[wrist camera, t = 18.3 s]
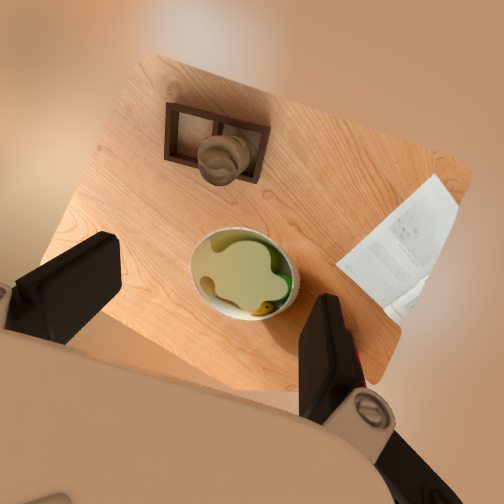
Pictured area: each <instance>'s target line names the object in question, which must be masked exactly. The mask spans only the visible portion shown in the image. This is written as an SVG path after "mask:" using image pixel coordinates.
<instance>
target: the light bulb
mask: <svg viewBox="0 0 504 504" xmlns="http://www.w3.org/2000/svg"><path fill="white" fill-rule="evenodd" d="M251 156H252V154H251V149H250V146H249V144H248V143H247V142H246V141H245V140H244V139H243V138H241V137H239V136H235V135H229V136H211V137H208V138H206V139H205V140H203V141H202V142H201V143H200V145H199V147H198V150H197V158H198V167H199V170H200V173H201V175H202V177H203V178H204V179H205V180H206V181H207V182H209V183H210V184H213V185H215V186H225V185H228V184H230V183H231V182H232V181H233V180H235V179H236V178H237V177H238V176H239V175H240V173H242V172H243V171H244V170H245V169H246V168H247V167H248V165H249V164H250V161H251Z"/></svg>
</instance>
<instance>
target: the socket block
mask: <svg viewBox="0 0 504 504" xmlns="http://www.w3.org/2000/svg"><path fill="white" fill-rule="evenodd" d="M179 112H182V113H186V114H190V115H194V116H197V117H201V118H205V119H209V120H213V121H214V125H213V132H212V136H222V133H223V126H224V124H228V125H232V126H236V127H240V128H244V129H247V130H251V131H255V132H259V133H262V138H261V142H260V147H259V151H258V156H257V161H256V165H255V170H254V174H252V173H248V172H245V171H243V172H242V173H240V175H239V176H238V177H237V178H236V179H239V180H243V181H247V182H250V183H254V184H257V182H258V180H259V177H260V173H261V169H262V164H263V160H264V156H265V151H266V147H267V143H268V138H269V134H270V130H271V128H269V127H265V126H261V125H257V124H253V123H250V122H246V121H242V120H238V119H234V118H230V117H226V116H223V115H219V114H215V113H211V112H207V111H203V110H199V109H195V108H192V107H188V106H184V105H180V104H176V103H168V102H166V121H165V145H164V160H168V161H171V162H175V163H179V164H183V165H187V166H190V167H194V168H198V169H199V167H198V159H195V158H192V157H188V156H184V155H180V154H176V151H177V135H178V120H179Z"/></svg>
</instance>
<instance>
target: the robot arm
mask: <svg viewBox="0 0 504 504" xmlns="http://www.w3.org/2000/svg"><path fill="white" fill-rule="evenodd" d="M15 282H16V286H15V287H13V288H11V287H10V286H8V285H5V284H3V283H0V504H463V503H462V501H461V500H460V499H459V498H458V496H457V495H456V494H455V493H454V492H453V490H452V489H450V487H449V486H448V485H447V484H446V483H445V482H444V481H443V480H442V479H441V478H440V477H439V476H438V475H437V474H436V473H435V472H434V471H433V470H432V469H431V468H430V466H429V465H428V464H427V463H426V462H424V460H423V459H422V458H421V457H420V456H419V455H418V454H417V453H416V452H415V451H414V450H413V449H412V448H411V447H410V446H409V445H408V444H407V443H406V442H405V440H404V439H402V437H401V436H400V435H399V434H398V433H397V432H396V431H395V430H394V428H395V424H396V423H395V417H394V414H393V412H392V409H391V408H390V406H389V405H388V403H387V402H386V401H385V400H384V399H383V398H382V397H381V396H380V395H378V394H377V393H376V392H374V391H372V390H370V389H368V388H365V386H364V382H363V378H362V374H361V370H360V366H359V362H358V358H357V354H356V350H355V346H354V342H353V338H352V334H351V332H350V331H349V330H346V329H345V325H344V320H343V316H342V312H341V307H340V303H339V298H338V297H337V296H335V295H331V294H327V293H324V294H323V296H322V295H319V296H318V298H317V300H316V302H315V304H314V306H313V309H312V311H311V313H310V315H309V317H308V319H307V322H306V324H305V326H304V328H303V330H302V333H301V335H300V338H299V416H298V415H295V414H292V413H290V412H287V411H283V410H281V409H278V408H274V407H271V406H268V405H265V404H262V403H258V402H255V401H252V400H249V399H246V398H243V397H239V396H236V395H233V394H229V393H226V392H223V391H219V390H216V389H213V388H209V387H206V386H203V385H199V384H196V383H193V382H189V381H186V380H183V379H179V378H176V377H172V376H169V375H166V374H162V373H159V372H155V371H152V370H149V369H145V368H141V367H138V366H135V365H131V364H128V363H125V362H121V361H118V360H114V359H111V358H107V357H104V356H101V355H97V354H93V353H90V352H87V351H83V350H80V349H76V348H73V347H69V346H66V343H68V341H69V340H71V338H73V337H74V336H75V334H77V333H78V332H79V331H80V330H81V329H82V328H83V327H84V326H85V325H86V324H87V323H88V322H89V321H90V320H91V319H92V318H93V317H94V316H95V315H96V314H97V313H98V312H99V311H100V310H101V309H102V308H103V307H104V306H105V305H106V304H107V303H108V302H109V301H110V300H111V299H112V298H113V297H114V296H115V295H116V294H117V293H118V292H119V291H120V289H121V286H122V281H121V262H120V244H119V239H117V237H116V235H114V234H111V233H107V232H104V231H100V232H98V233H96V234H95V235H93V236H91V237H89V238H88V239H86V240H84V241H83V242H81V243H79V244H77V245H76V246H74V247H72V248H71V249H69V250H67V251H66V252H64V253H62V254H60V255H59V256H57V257H55V258H54V259H52V260H50V261H48V262H47V263H45V264H43V265H42V266H40V267H38V268H37V269H35V270H33V271H31V272H30V273H28V274H26V275H24V276H23V277H21V278H19V279H18V280H16V281H15Z"/></svg>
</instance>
